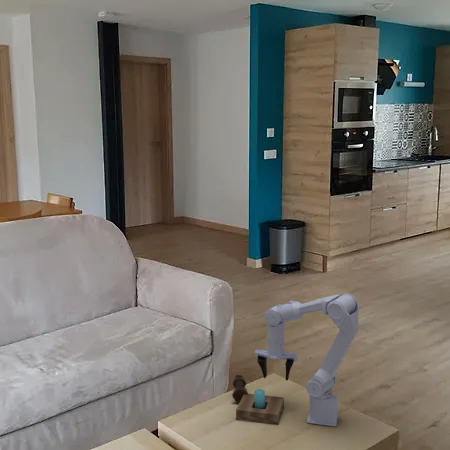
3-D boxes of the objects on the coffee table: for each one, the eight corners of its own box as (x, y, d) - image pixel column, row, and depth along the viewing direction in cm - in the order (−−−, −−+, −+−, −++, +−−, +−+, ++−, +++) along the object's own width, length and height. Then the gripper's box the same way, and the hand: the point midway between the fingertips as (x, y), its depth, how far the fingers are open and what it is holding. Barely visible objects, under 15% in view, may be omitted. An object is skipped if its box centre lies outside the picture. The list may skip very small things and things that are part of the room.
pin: (265, 411, 201) (265, 389, 199) (264, 416, 198) (264, 394, 196) (255, 410, 201) (255, 388, 200) (254, 415, 198) (253, 393, 197)
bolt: (241, 387, 222) (242, 406, 207) (229, 381, 222) (230, 399, 207) (248, 374, 221) (251, 392, 206) (237, 368, 221) (238, 386, 206)
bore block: (284, 406, 205) (284, 397, 204) (277, 424, 193) (277, 414, 193) (244, 402, 208) (244, 393, 208) (236, 419, 197) (236, 409, 196)
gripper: (252, 343, 200) (252, 380, 203) (295, 347, 196) (295, 385, 199) (257, 335, 207) (257, 372, 209) (298, 339, 203) (298, 376, 205)
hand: (276, 378), depth 204 cm, fingers open, 7 cm apart
